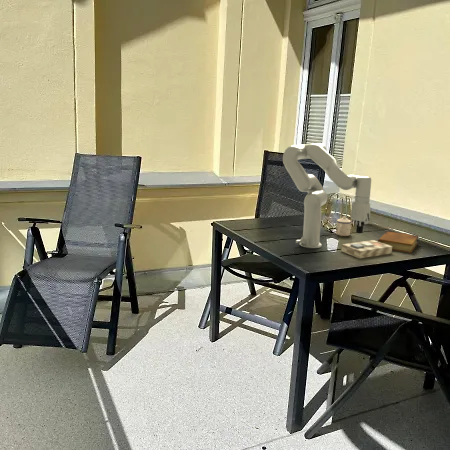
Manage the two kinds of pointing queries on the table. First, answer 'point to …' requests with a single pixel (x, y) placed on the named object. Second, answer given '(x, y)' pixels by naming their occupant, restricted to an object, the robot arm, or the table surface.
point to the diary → (399, 241)
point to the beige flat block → (367, 249)
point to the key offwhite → (367, 244)
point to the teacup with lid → (343, 227)
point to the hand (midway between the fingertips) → (359, 232)
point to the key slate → (357, 246)
